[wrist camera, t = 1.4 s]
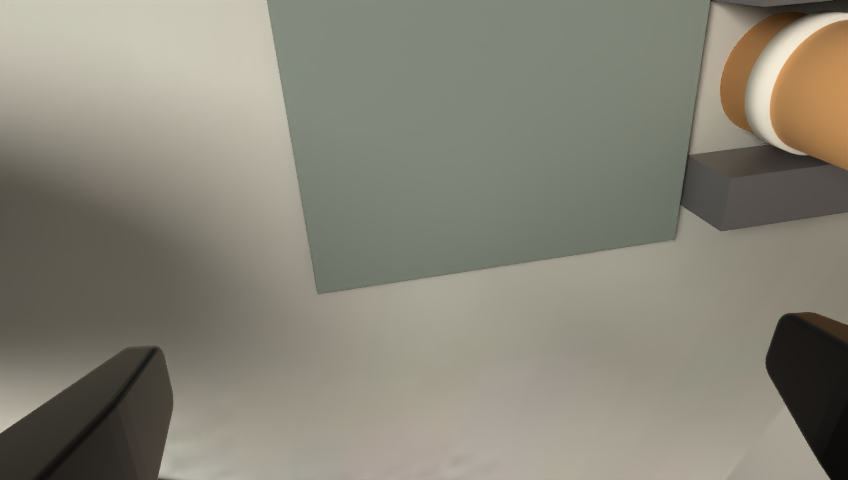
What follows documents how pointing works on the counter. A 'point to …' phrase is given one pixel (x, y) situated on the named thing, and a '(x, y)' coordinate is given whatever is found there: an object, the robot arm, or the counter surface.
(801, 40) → the orange peg
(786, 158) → the dark grey piece
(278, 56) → the mat
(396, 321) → the counter surface
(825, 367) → the robot arm
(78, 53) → the counter surface
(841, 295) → the counter surface
